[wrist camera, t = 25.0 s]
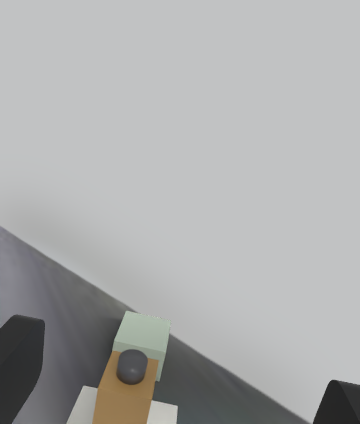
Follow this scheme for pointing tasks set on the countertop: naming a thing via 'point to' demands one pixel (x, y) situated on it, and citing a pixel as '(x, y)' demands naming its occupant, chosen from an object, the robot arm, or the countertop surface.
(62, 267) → the countertop surface
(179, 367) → the countertop surface
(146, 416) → the reagent bottle
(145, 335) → the sage block
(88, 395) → the letter
